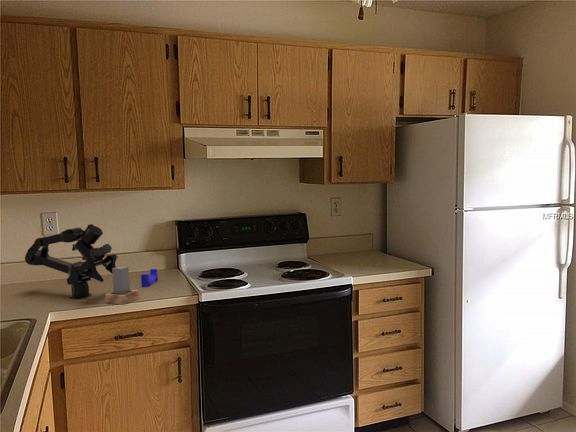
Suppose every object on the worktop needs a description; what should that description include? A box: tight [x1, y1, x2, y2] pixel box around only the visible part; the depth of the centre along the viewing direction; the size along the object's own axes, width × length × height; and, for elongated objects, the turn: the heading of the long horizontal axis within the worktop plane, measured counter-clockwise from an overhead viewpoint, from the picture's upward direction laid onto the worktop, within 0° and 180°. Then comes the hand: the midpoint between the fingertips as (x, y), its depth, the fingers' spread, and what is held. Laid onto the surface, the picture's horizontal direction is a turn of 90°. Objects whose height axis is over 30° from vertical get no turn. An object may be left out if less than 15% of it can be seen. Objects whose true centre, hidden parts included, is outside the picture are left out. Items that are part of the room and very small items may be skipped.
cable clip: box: [140, 268, 159, 288], centre depth 226 cm, size 12×4×6 cm, turn 173°
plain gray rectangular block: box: [112, 265, 131, 295], centre depth 199 cm, size 4×4×13 cm
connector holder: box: [104, 288, 140, 305], centre depth 199 cm, size 10×10×4 cm
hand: (110, 278), depth 200 cm, fingers open, 9 cm apart
